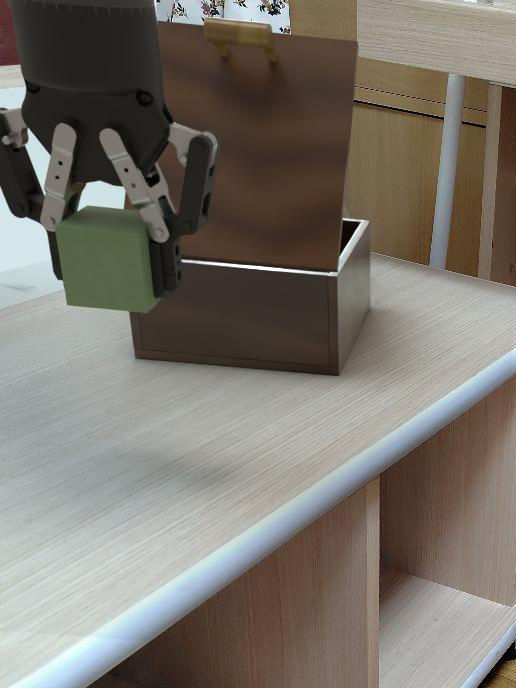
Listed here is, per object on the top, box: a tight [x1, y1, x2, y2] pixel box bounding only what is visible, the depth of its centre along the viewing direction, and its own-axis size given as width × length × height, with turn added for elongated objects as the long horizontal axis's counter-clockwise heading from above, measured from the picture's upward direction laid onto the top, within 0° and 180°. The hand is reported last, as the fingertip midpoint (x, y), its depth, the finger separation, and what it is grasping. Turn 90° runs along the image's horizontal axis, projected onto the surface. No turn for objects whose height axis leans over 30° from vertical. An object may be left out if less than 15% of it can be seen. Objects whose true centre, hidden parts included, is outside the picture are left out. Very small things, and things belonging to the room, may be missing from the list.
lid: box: [123, 16, 360, 273], centre depth 80 cm, size 20×18×5 cm
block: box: [55, 205, 161, 313], centre depth 63 cm, size 5×5×5 cm
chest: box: [128, 218, 371, 376], centre depth 91 cm, size 19×18×9 cm
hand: (120, 290), depth 64 cm, fingers closed on block, 5 cm apart
